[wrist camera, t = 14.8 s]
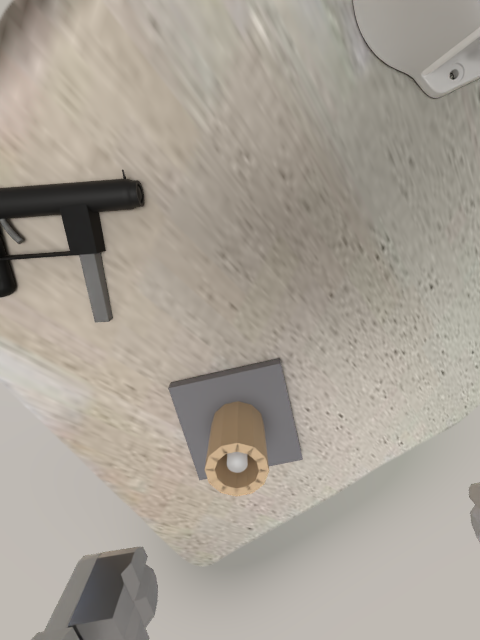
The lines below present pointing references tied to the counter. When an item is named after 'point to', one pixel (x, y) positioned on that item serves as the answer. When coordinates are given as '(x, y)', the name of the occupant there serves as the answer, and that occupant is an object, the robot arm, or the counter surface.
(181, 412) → the roll holder
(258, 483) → the paper roll
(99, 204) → the black two-tone tubular device
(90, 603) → the robot arm
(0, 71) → the counter surface
